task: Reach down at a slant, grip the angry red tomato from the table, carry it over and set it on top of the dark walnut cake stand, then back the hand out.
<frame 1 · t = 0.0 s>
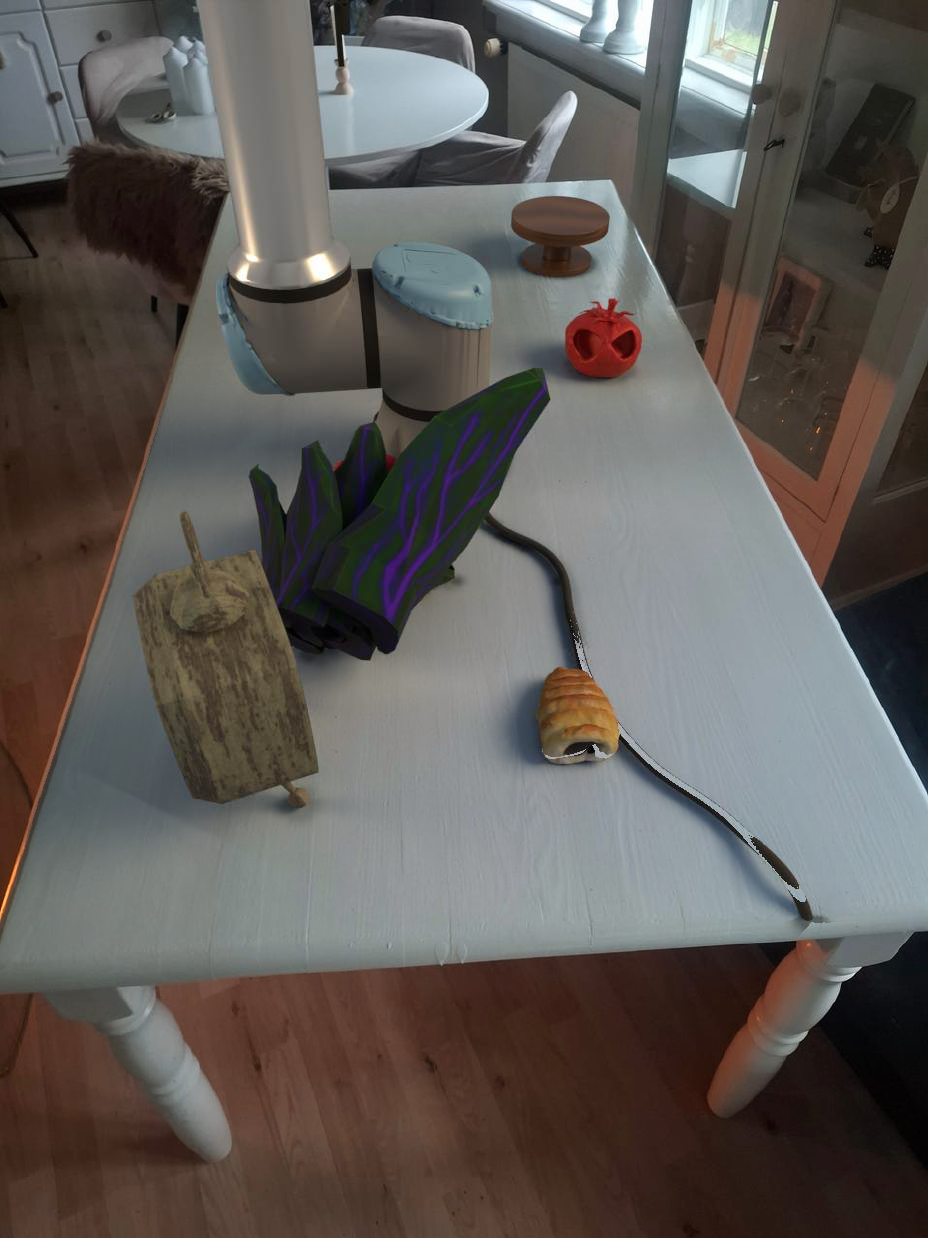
hand: (288, 65, 112), 28 cm above the table, tool pointing down, fingers open, 13 cm apart
pastry: (571, 729, 74), on the table
angry red tomato: (599, 367, 115), on the table
decorative plant: (379, 583, 86), on the table
stand: (556, 261, 137), on the table
brown boxy piece: (251, 764, 71), on the table
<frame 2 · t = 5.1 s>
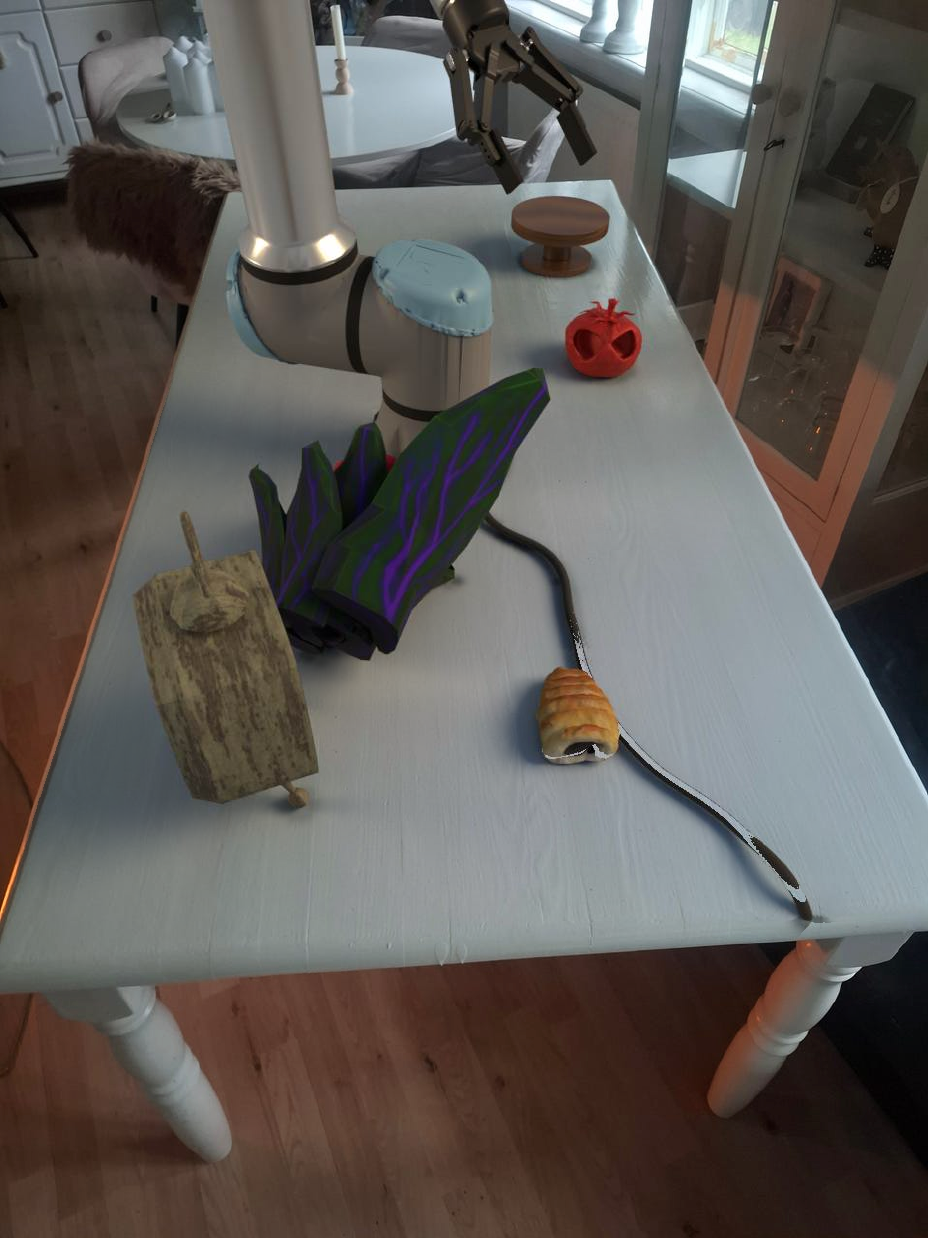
hand: (553, 173, 105), 21 cm above the table, tool tilted 45°, fingers open, 13 cm apart
nothing on the table moved.
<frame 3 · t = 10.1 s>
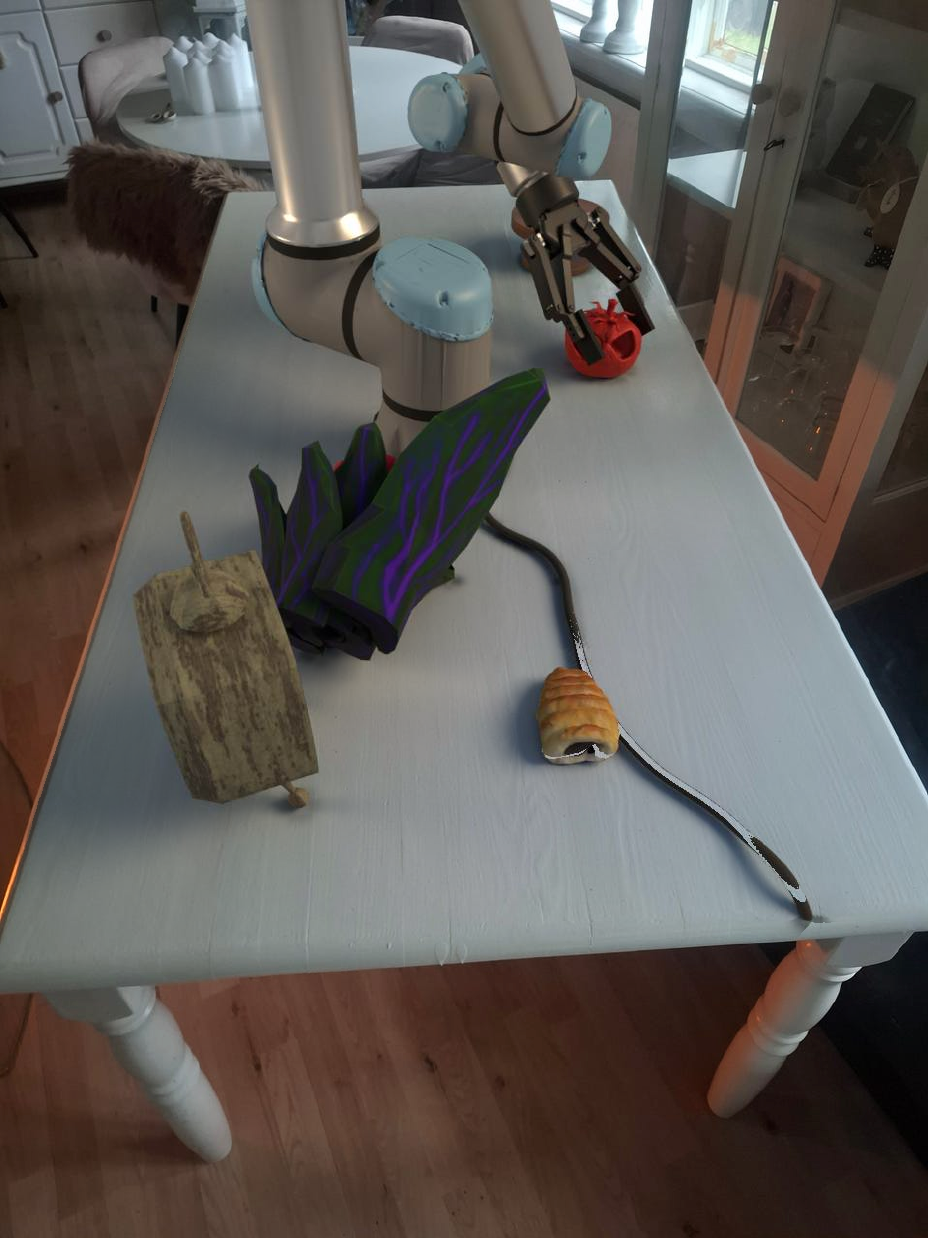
hand: (622, 347, 111), 4 cm above the table, tool tilted 45°, fingers closed on angry red tomato, 9 cm apart
angry red tomato: (598, 367, 115), on the table, touching gripper
everything else where it was.
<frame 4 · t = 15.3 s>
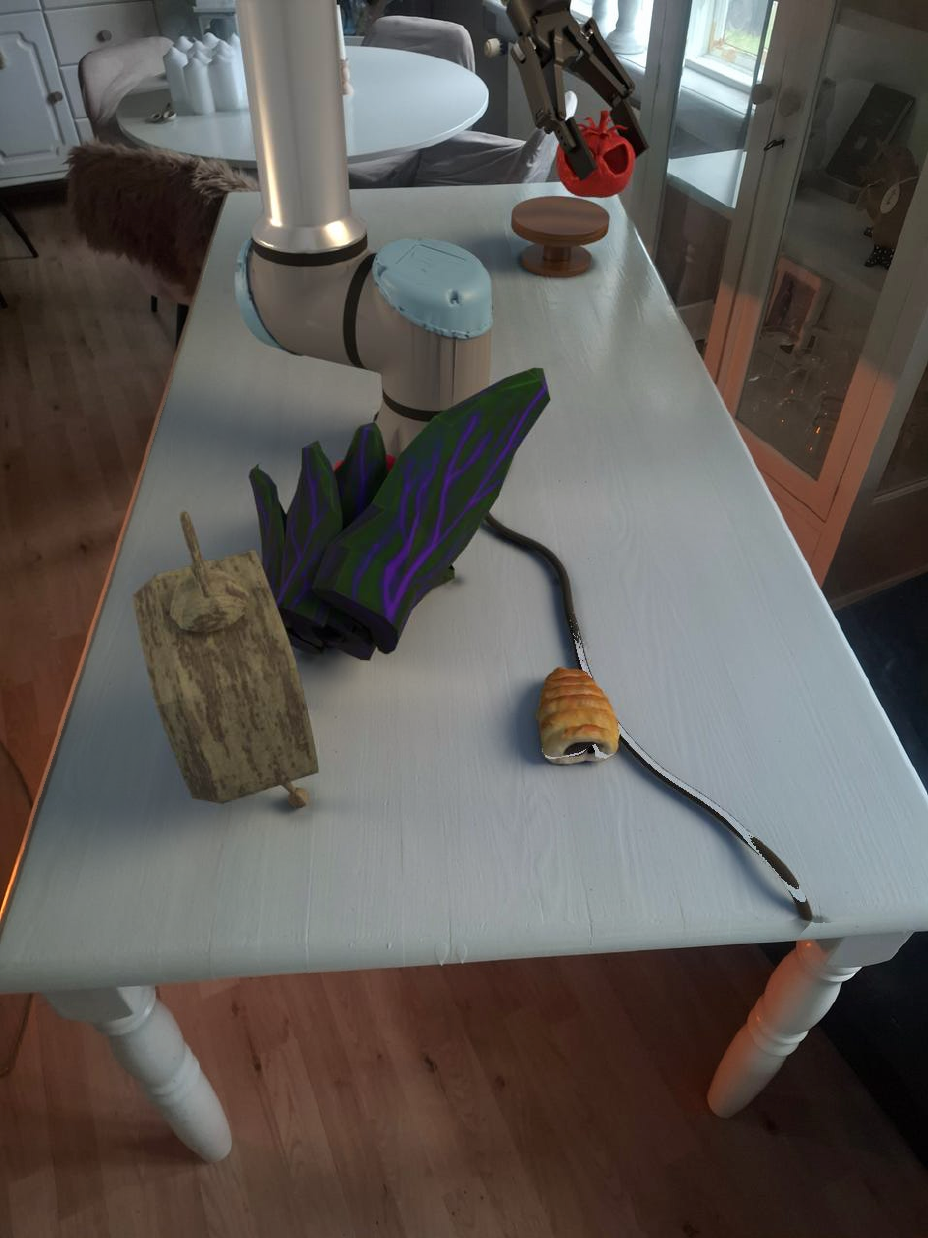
hand: (615, 163, 108), 21 cm above the table, tool tilted 45°, fingers closed on angry red tomato, 9 cm apart
angry red tomato: (591, 191, 112), point 17 cm above the table, touching gripper
everything else where it was.
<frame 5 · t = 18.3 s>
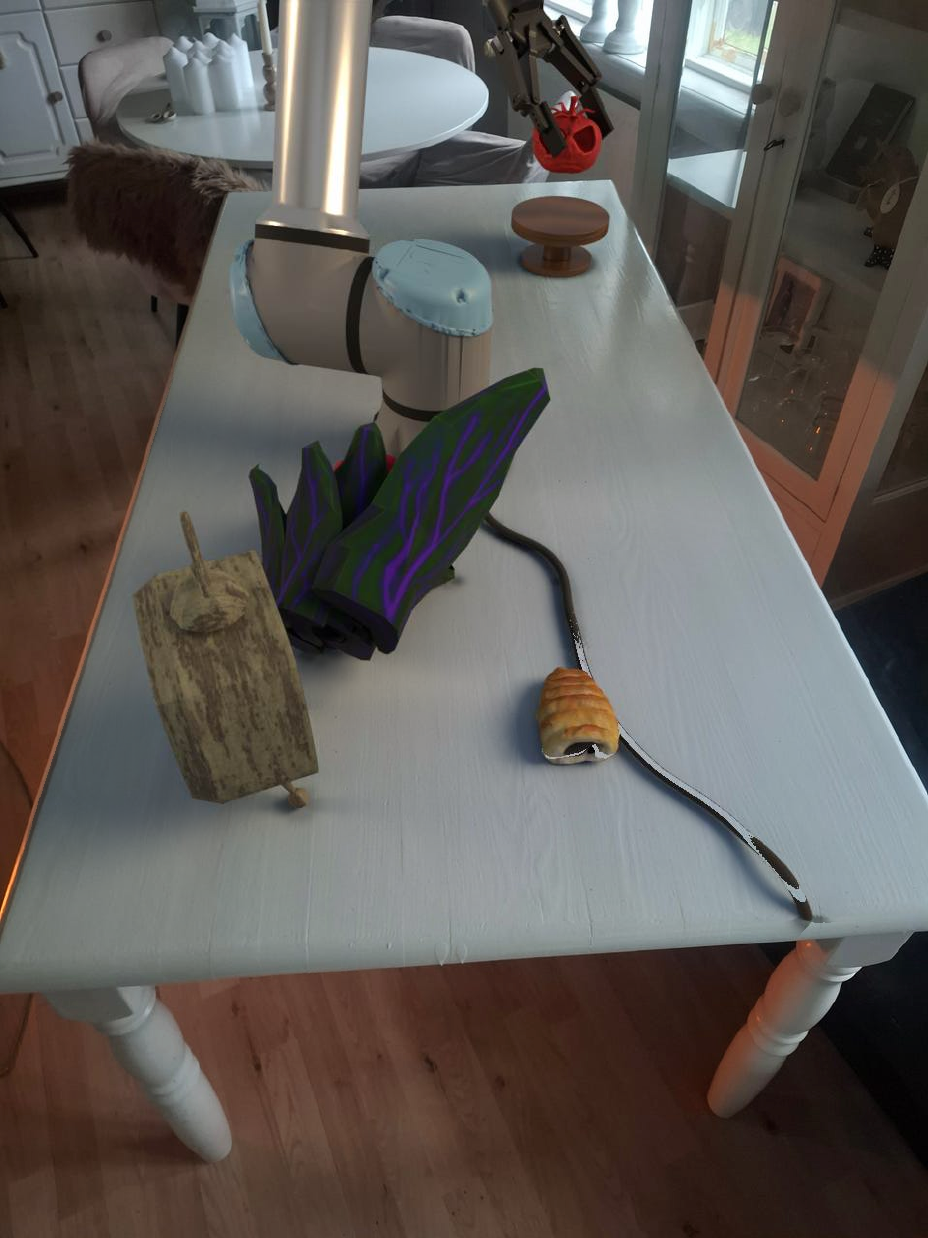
hand: (584, 143, 122), 18 cm above the table, tool tilted 45°, fingers closed on angry red tomato, 9 cm apart
angry red tomato: (564, 168, 127), point 14 cm above the table, touching gripper
everything else where it was.
when the fingers open (11 cm above the table, at t = 20.8 s): angry red tomato stays where it is, resting on stand.
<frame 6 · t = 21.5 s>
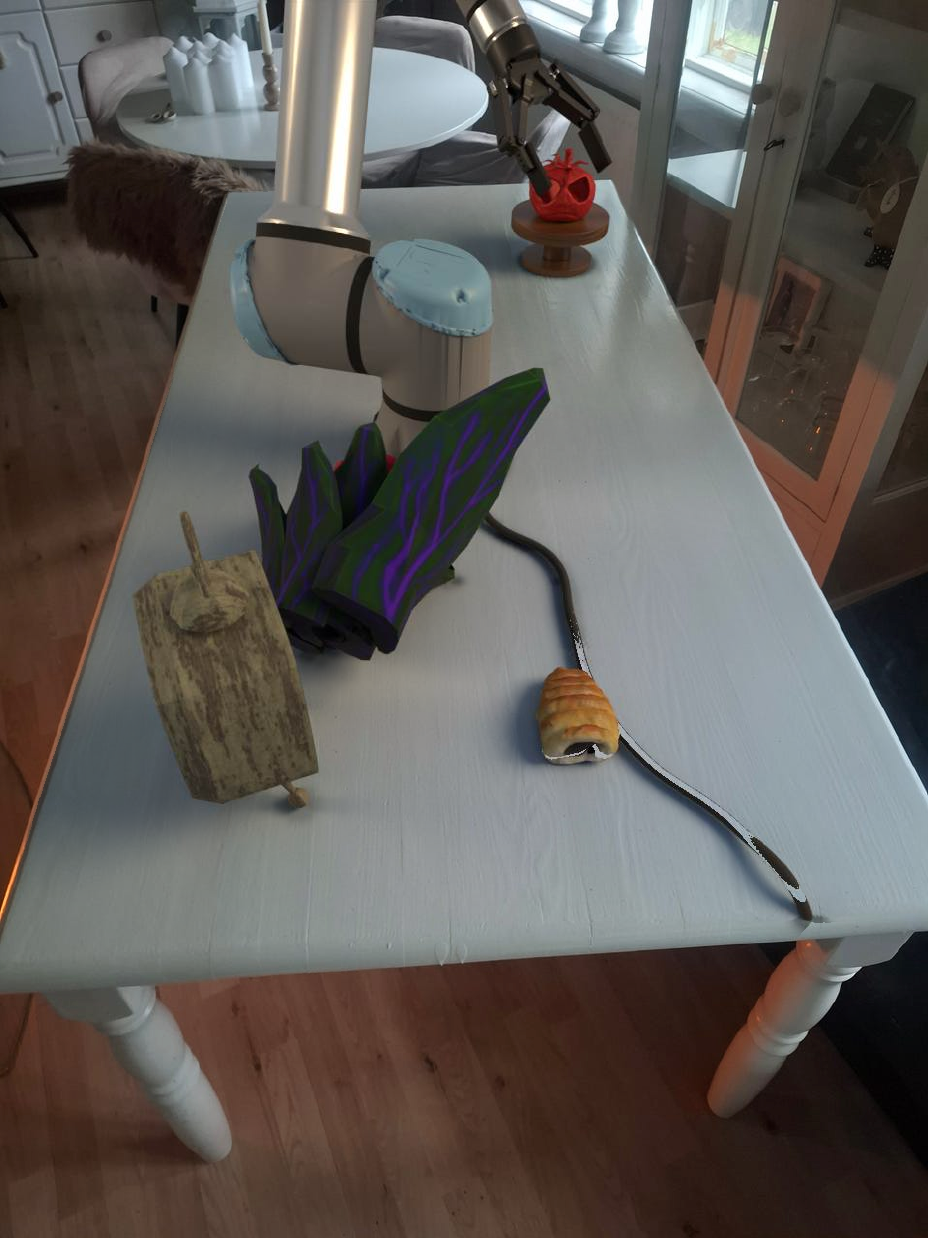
hand: (576, 179, 126), 13 cm above the table, tool tilted 45°, fingers open, 13 cm apart
angry red tomato: (559, 215, 132), point 7 cm above the table, touching stand
everything else where it was.
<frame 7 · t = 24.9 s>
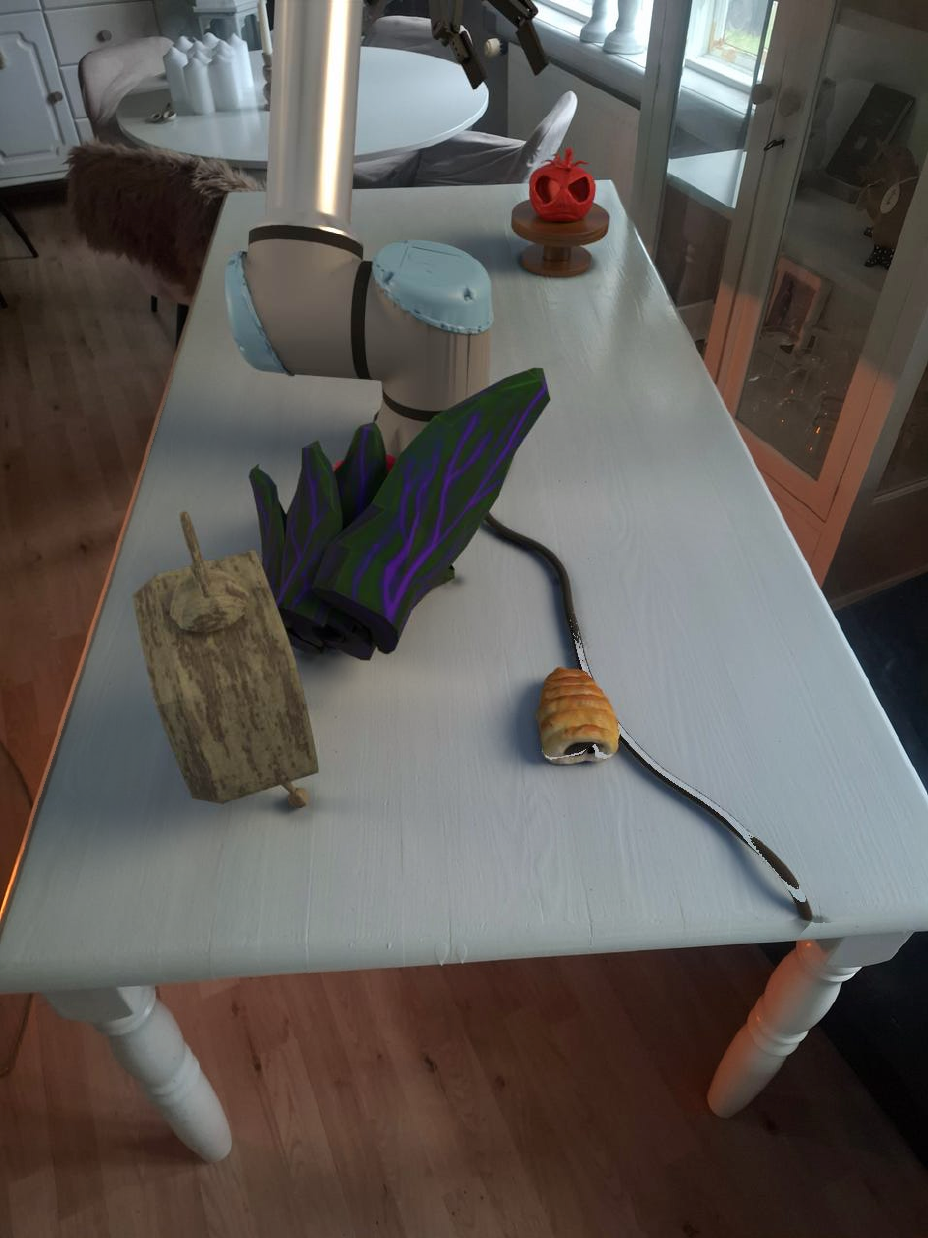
hand: (512, 76, 124), 24 cm above the table, tool tilted 45°, fingers open, 13 cm apart
nothing on the table moved.
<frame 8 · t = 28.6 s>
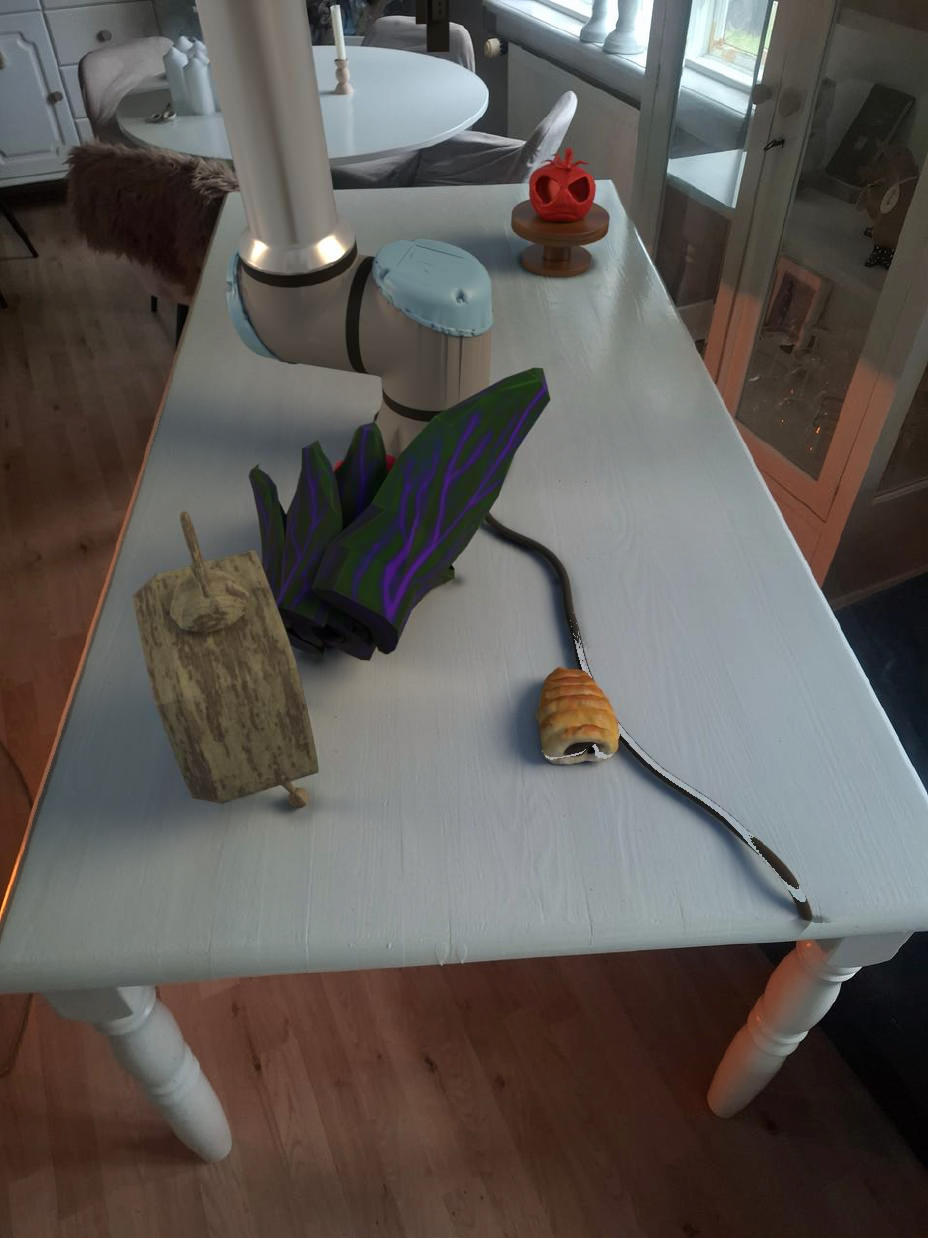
hand: (431, 37, 108), 32 cm above the table, tool pointing down, fingers open, 13 cm apart
nothing on the table moved.
at the end: angry red tomato inside the target area on the stand (0.1 cm from its centre), point 7.1 cm above the stand's base; the gripper is holding nothing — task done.
